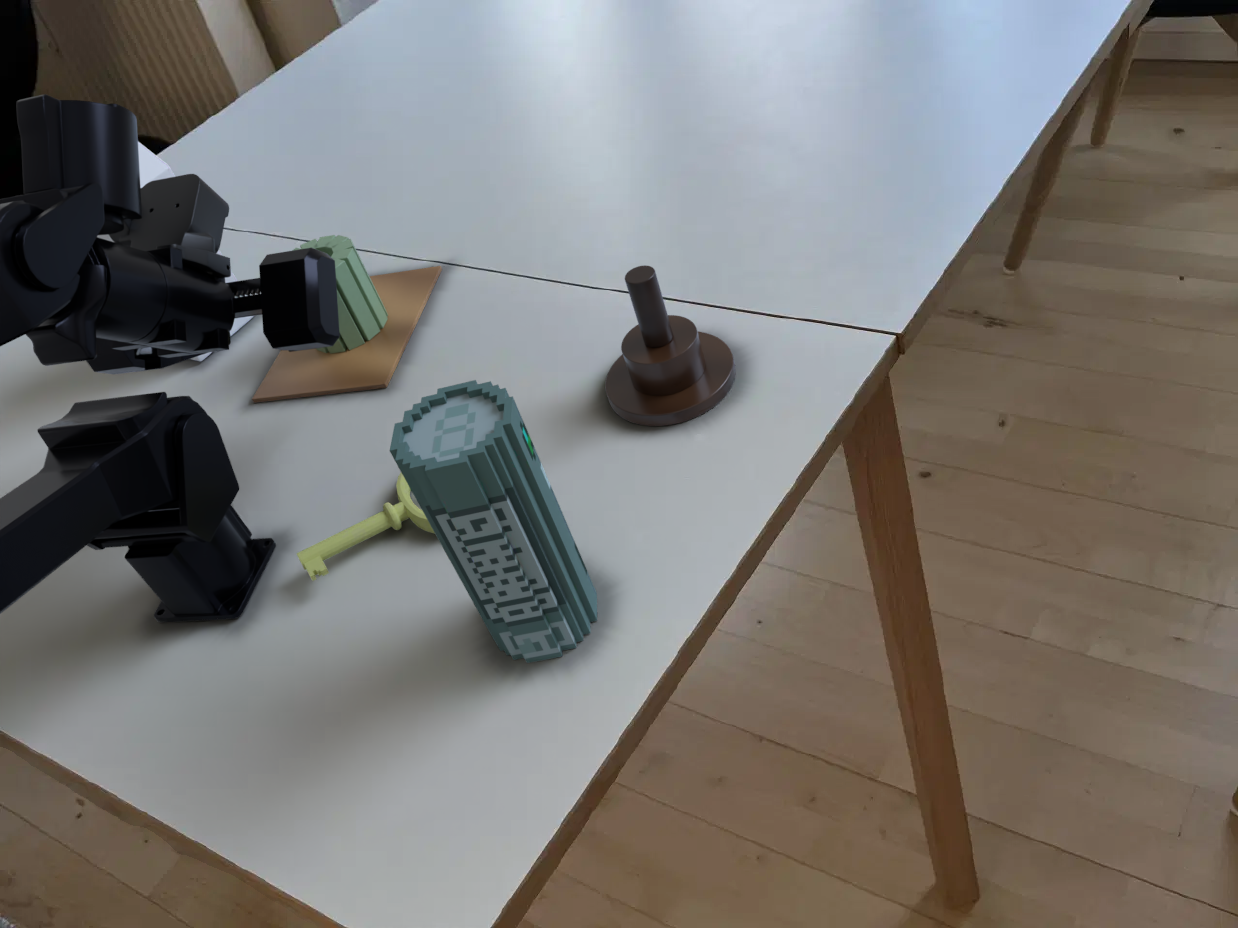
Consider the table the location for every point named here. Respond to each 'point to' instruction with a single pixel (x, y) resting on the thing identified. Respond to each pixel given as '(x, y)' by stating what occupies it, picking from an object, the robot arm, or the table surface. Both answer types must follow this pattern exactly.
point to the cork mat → (363, 363)
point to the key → (364, 530)
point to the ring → (351, 294)
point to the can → (497, 518)
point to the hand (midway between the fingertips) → (280, 330)
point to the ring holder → (665, 362)
